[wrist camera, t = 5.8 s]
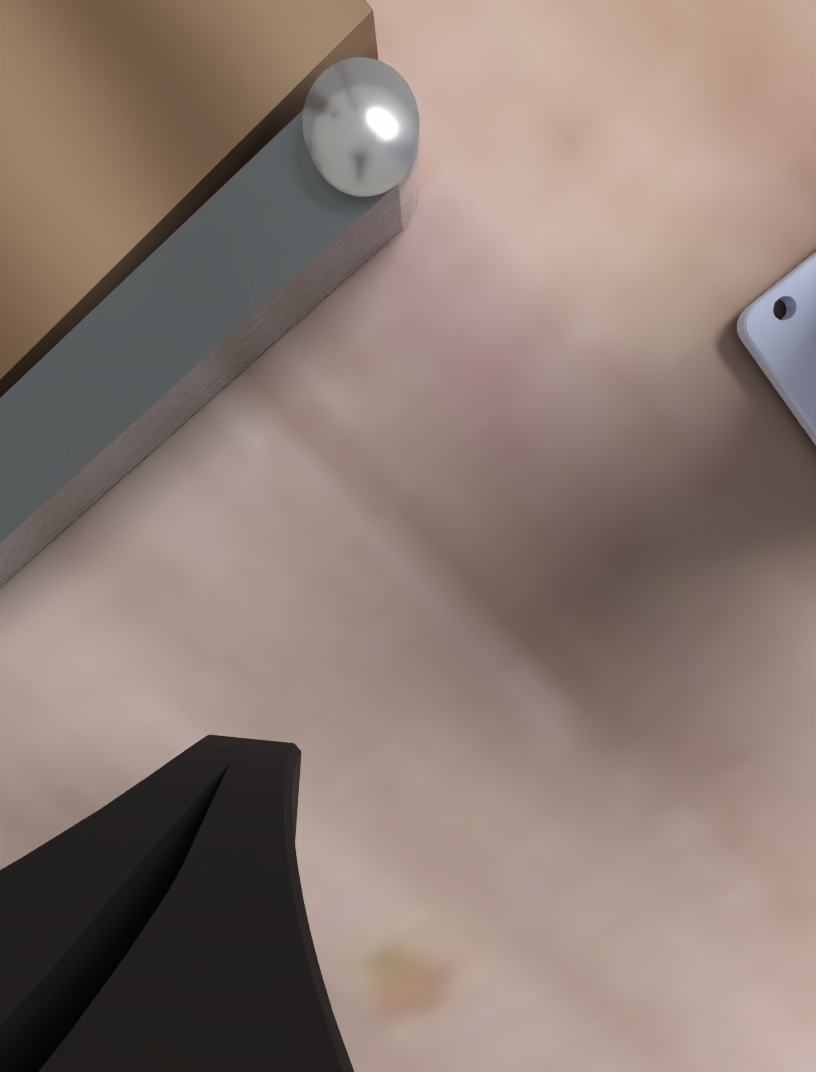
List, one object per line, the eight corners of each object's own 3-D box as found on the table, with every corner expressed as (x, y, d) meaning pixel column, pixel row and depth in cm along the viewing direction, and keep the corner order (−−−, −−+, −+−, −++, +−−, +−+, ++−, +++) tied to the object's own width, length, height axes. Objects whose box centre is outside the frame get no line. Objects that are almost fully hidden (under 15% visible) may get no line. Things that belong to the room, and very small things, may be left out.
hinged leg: (379, 122, 14) (367, 28, 10) (436, 197, 14) (442, 132, 11) (-72, 540, 16) (-206, 577, 12) (-14, 598, 16) (-130, 650, 13)
